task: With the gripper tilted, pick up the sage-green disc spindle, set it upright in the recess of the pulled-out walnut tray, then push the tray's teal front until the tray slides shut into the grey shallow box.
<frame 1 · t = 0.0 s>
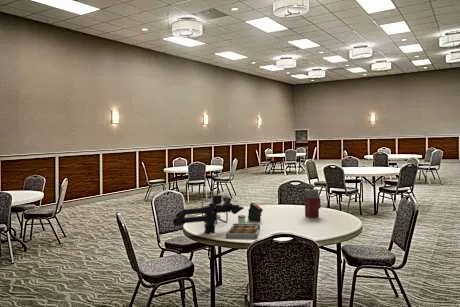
hand: (241, 206, 299), 17 cm above the table, tool horizontal, fingers open, 9 cm apart
tray: (245, 229, 288), point 2 cm above the table, slide at 8.0 cm
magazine: (255, 221, 325), on the table
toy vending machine: (313, 217, 337), on the table
newton's cradle: (214, 220, 333), on the table
grey shallow box: (242, 236, 277), on the table
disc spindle: (241, 227, 304), on the table
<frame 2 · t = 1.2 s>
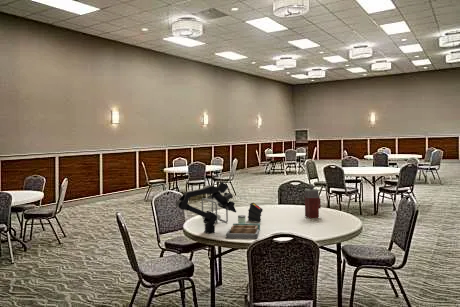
hand: (233, 211, 300), 13 cm above the table, tool tilted 45°, fingers open, 9 cm apart
nothing on the table moved.
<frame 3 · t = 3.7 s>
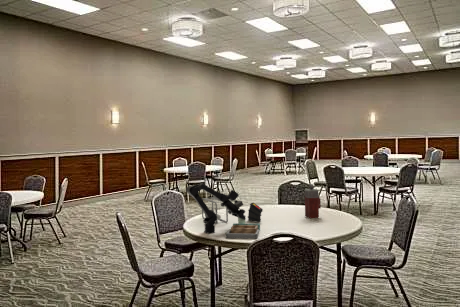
hand: (243, 218, 304), 7 cm above the table, tool tilted 45°, fingers closed on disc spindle, 6 cm apart
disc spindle: (242, 227, 304), on the table, touching gripper
everything else where it was.
when the fingers open (9 cm above the table, at t = 8.2 s): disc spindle stays where it is, resting on tray.
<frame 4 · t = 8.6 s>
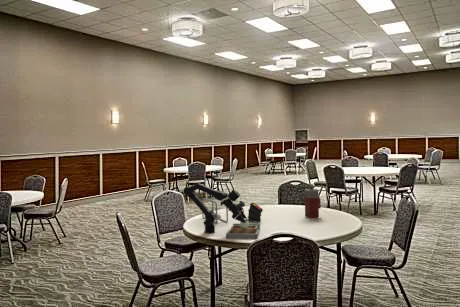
hand: (246, 221, 284), 9 cm above the table, tool tilted 45°, fingers open, 9 cm apart
tray: (245, 229, 288), point 2 cm above the table, slide at 8.0 cm, touching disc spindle
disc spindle: (244, 231, 285), point 1 cm above the table, touching tray
everything else where it was.
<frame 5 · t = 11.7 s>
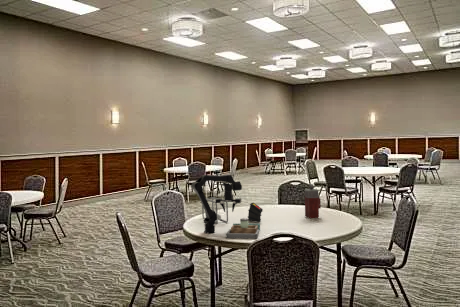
hand: (228, 212, 298), 13 cm above the table, tool pointing down, fingers open, 6 cm apart
nothing on the table moved.
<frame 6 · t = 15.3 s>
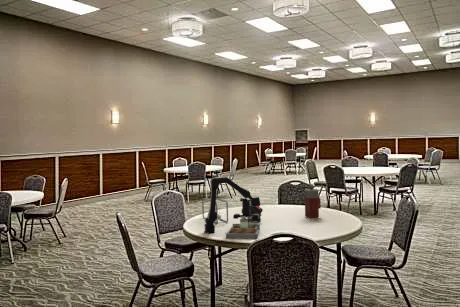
hand: (246, 227, 296), 1 cm above the table, tool pointing down, fingers closed
tray: (244, 229, 287), point 2 cm above the table, slide at 6.9 cm, touching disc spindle, gripper
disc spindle: (244, 231, 284), point 1 cm above the table, touching tray
everything else where it was.
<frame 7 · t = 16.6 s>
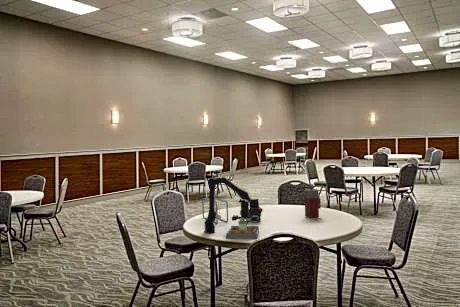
hand: (245, 229, 289), 1 cm above the table, tool pointing down, fingers closed, pressing on tray
tray: (243, 231, 280), point 2 cm above the table, slide at 0.1 cm, touching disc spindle, gripper
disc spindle: (242, 234, 277), point 1 cm above the table, touching tray
everything else where it was.
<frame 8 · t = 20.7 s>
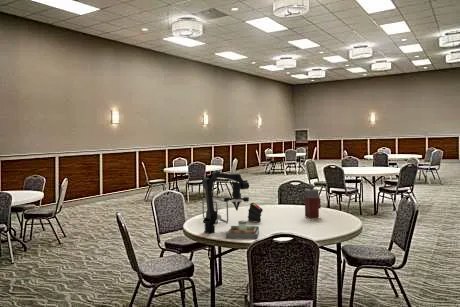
hand: (236, 210, 304), 13 cm above the table, tool pointing down, fingers closed
tray: (243, 231, 280), point 2 cm above the table, slide at 0.0 cm, touching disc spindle
everything else where it was.
at the end: tray slide at 0.0 cm; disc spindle inside the target area on the grey shallow box (0.0 cm from its centre), point 1.2 cm above the grey shallow box's base; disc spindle tilted 0° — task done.
